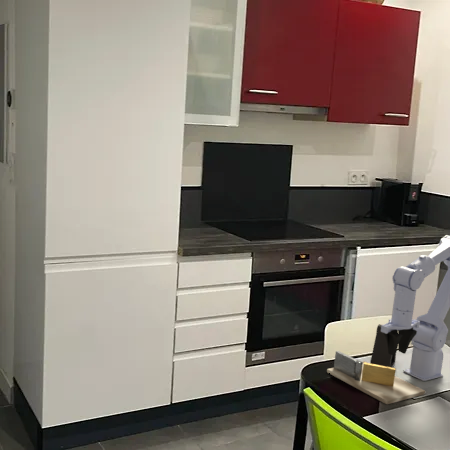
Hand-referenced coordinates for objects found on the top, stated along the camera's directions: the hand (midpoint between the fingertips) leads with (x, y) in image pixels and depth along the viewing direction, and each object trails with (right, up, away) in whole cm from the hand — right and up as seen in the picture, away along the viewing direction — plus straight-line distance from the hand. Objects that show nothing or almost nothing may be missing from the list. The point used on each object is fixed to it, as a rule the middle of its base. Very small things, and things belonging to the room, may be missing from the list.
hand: (396, 353), depth 188 cm
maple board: (-6, -9, +1) cm, 11 cm away
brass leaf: (-6, -8, -2) cm, 10 cm away
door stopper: (0, -7, +18) cm, 19 cm away
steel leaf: (-14, -7, +3) cm, 16 cm away
